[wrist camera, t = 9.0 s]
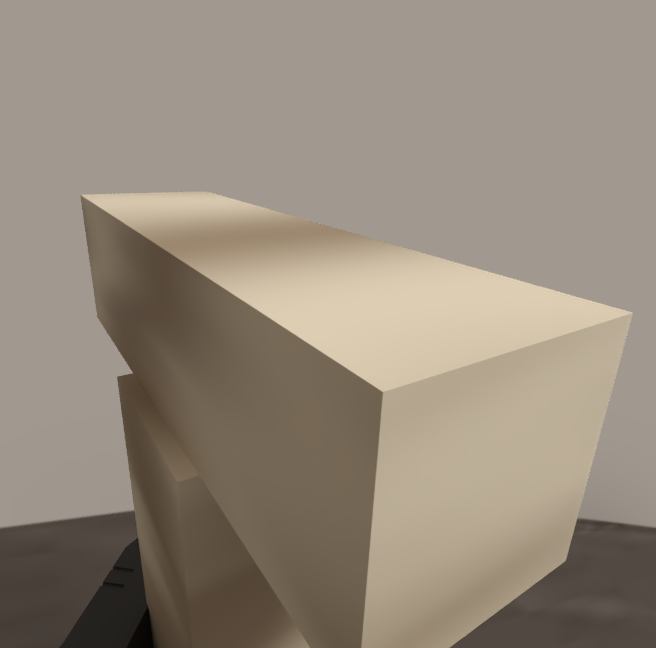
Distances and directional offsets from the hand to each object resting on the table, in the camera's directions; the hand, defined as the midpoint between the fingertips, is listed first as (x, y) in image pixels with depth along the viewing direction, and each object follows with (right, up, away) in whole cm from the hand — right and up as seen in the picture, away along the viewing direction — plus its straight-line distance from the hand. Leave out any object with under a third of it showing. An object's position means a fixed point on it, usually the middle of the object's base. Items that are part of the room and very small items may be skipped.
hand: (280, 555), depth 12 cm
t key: (-1, -10, +1) cm, 10 cm away
